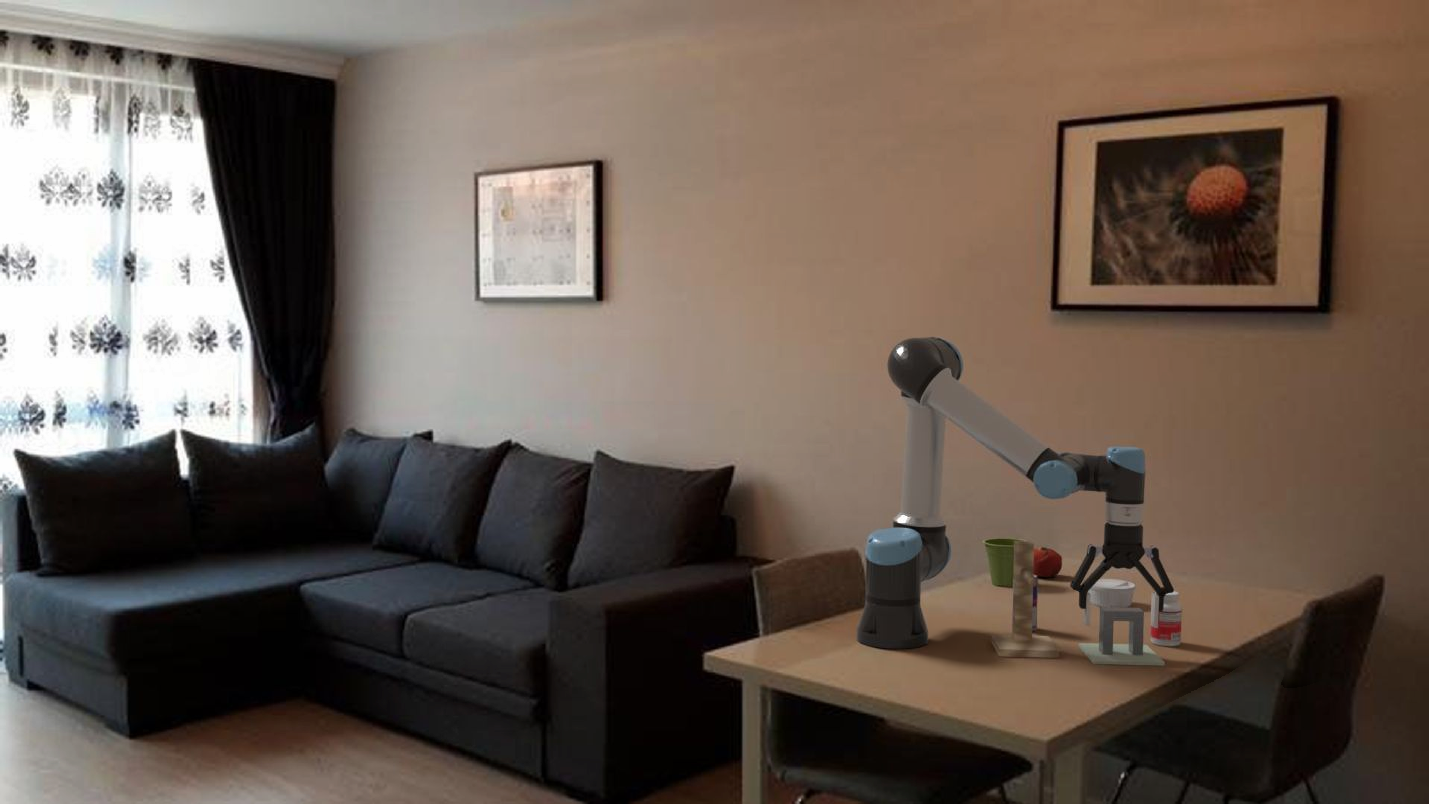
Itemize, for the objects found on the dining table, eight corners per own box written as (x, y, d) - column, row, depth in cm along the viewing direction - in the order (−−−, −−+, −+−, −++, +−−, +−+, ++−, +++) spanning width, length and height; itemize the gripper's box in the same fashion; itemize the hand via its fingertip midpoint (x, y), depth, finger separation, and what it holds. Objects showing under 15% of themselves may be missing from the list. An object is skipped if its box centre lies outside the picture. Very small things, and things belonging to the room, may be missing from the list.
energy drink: (1037, 632, 280) (1038, 578, 280) (1012, 631, 282) (1013, 577, 281) (1036, 626, 286) (1037, 573, 285) (1011, 625, 287) (1012, 572, 286)
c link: (1102, 654, 260) (1103, 610, 259) (1098, 650, 263) (1099, 607, 263) (1142, 655, 259) (1143, 611, 259) (1138, 650, 263) (1139, 607, 262)
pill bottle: (1151, 638, 276) (1153, 588, 275) (1181, 641, 273) (1183, 590, 272) (1149, 645, 270) (1150, 593, 269) (1179, 648, 268) (1181, 596, 267)
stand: (1001, 660, 258) (1003, 552, 256) (991, 641, 272) (992, 539, 271) (1061, 661, 257) (1064, 553, 255) (1048, 642, 271) (1050, 540, 270)
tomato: (1040, 572, 348) (1041, 543, 347) (1069, 577, 341) (1070, 547, 340) (1019, 576, 342) (1020, 546, 341) (1048, 581, 335) (1049, 551, 334)
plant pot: (1001, 577, 340) (1001, 536, 339) (1038, 585, 330) (1038, 542, 330) (972, 583, 332) (973, 540, 331) (1009, 591, 323) (1010, 547, 322)
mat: (1093, 663, 255) (1093, 660, 255) (1078, 645, 269) (1078, 643, 269) (1164, 665, 254) (1165, 662, 254) (1146, 647, 268) (1146, 644, 268)
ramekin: (1138, 610, 302) (1138, 588, 302) (1089, 609, 304) (1090, 587, 304) (1130, 600, 313) (1131, 579, 313) (1083, 598, 315) (1084, 577, 315)
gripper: (1065, 524, 257) (1061, 628, 258) (1192, 527, 255) (1188, 631, 257) (1058, 518, 264) (1054, 619, 266) (1181, 521, 263) (1177, 622, 264)
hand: (1120, 625), depth 261 cm, fingers open, 13 cm apart
